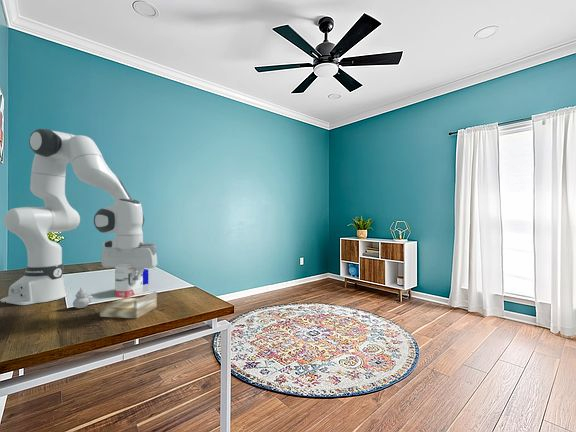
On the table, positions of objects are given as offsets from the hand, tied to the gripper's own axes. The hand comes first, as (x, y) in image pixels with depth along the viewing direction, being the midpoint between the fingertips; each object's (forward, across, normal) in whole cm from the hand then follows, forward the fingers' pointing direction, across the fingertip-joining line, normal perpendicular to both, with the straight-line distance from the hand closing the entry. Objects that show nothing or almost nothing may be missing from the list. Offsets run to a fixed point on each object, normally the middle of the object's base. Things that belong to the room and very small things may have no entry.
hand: (129, 279), depth 104 cm
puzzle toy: (+12, +17, -25) cm, 33 cm away
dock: (+12, 0, 0) cm, 12 cm away
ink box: (+6, 0, 0) cm, 6 cm away
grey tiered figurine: (+12, +21, -2) cm, 24 cm away
